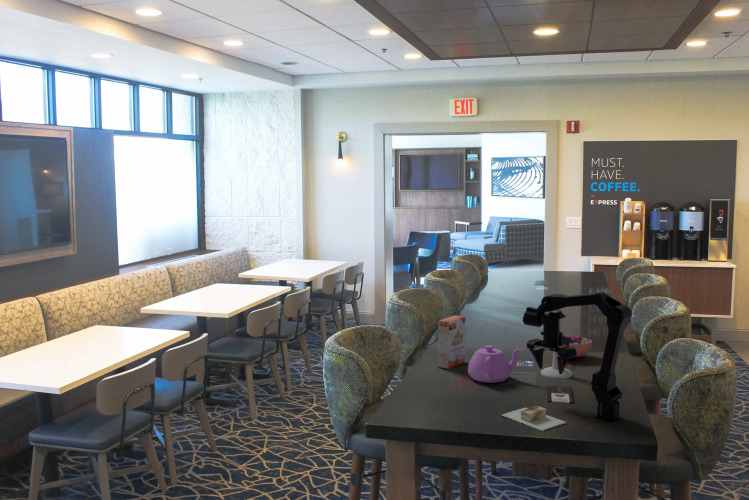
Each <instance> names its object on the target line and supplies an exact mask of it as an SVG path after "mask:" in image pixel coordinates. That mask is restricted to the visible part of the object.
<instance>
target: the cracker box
mask: <svg viewBox="0 0 749 500" xmlns="http://www.w3.org/2000/svg"><path fill="white" fill-rule="evenodd" d="M437 337H438V341H437V342H438V344H437V346H438V347H437V349H438V351H437V352H438V353H437V357H438V358H437V359H438V360H437V366H438V368H442V369H447V370H450V369H452V368H454V367H457V366H459V365H461V364H464V363H465V362H466V361H465V359H466V358H465V357H466V356H465V355H466V354H465V353H466V350H465V349H466V316H463V315H456V314H455V315H452V316H449V317H446V318H442V319H440V320H438V335H437Z"/></svg>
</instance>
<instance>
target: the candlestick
mask: <svg viewBox="0 0 749 500" xmlns="http://www.w3.org/2000/svg"><path fill="white" fill-rule="evenodd" d="M559 311H561V309H558V310H554V312H555V313H557V312H559ZM561 322H563V320H562V319H560V326H561V325H562V323H561ZM559 347H560V346H559ZM560 348H561V347H560ZM557 357H559V356H558V354H557V352H554V351H552V366H548V367H545V368H542V369H541V371H540V375H542V376H543V377H545V378H548V379H556V380H557V379H558V380H561V379H563V380H564V379H570V378H572V377H573V372H572V371H571V370H570V369H569V368H566V367H565V368H564V371H563V373H562V374H561V375H560V374H559V370H558V362H557Z"/></svg>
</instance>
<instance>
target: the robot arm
mask: <svg viewBox="0 0 749 500" xmlns="http://www.w3.org/2000/svg"><path fill="white" fill-rule="evenodd" d="M591 305H593V306H594V305H595V306H596V307H597V308H598V309H599V311H600V312H601V313H602V314H603V315H604V316H605V317H606V325H607V326H606V327H607V330H608V333H607V337H606V342H605V346H604V349H603V355H602V360H601V364H600V369H599V370H598V371H596V372H594V373H592V378H591V382H590V383H589V384H590V385H591V391H592V392H593V394H594V396H595V401H596V402H597V407H596V408H597V409H596V415H595V416H594V417H595V418H597V419H600V420H603V421H605V422H610V423H613V422H615V421H618V420H621V419H622V418H623V416H622V415H621V416H620V404H621V403H620V401H619V400H621V399H622V397H623V394H624V393H623V392H622V391H621V390H620V389H619V387H618V386H617V376H616V372H615V370H616V367H617V361H618V357H619V353H620V348H621V343H622V339H623V335H624V332H625V330H626V328H627V327H628V326H629V324H630V321H631V320H632V319H631V318H632V317H633V311H632V310H631V308H630V307H629V306H628V305H626V304H623V303H622V302H621V301H619V300H617V299H615V298H613V297H611V296H610V295H609V294H607V293H605V292H604V291H598V292H593V293H583V294H574V295H573V294H572V295H568V294H563V293H562V294H561V293H553V294H549V295H545V296H543V297H542V299H541V301H540V304H539V306H538V307H537V308H536V307H532V306H528V307H526V308H525V309H526V311H524V313H523V316H522V321H523V324H524V325H526V326H530V327H536V328H541V327H543V328H542V329H543V331H540V335H541V336H542V339H540V338H533V339H529V340H527V342H526V349H528V351H529V352H531V354H532V356H533V358H534V359H535V361H536V364H537V366H538V369H540V370H542V369H543V364H544V361H543V360H544V352H545V350H547V351H551V352H553V351H554V352H557V354H558V356H559V357H557V362H558V370H559V374H560V375H561V374H562V373H563V371H564V368H566V366H567V363H568V362H569V360H570V359H574V358H573V357H574V356H577V350H576V349H575V348H572V347H569V344H570V340H571V338H568V337H564V336H562V333H563V332H562V331H561V327H560V326H561V325H560V320H562V319H565V318H566V316H567V315H565V314H564V313H563V312H562V311H561V309H565V308H570V307H580V306H582V307H583V306H591ZM558 309H560V311H559V312H557V313H555V310H558ZM563 345H566V347H562V348H560V347H559V346H563Z"/></svg>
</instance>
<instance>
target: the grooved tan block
mask: <svg viewBox="0 0 749 500" xmlns="http://www.w3.org/2000/svg"><path fill="white" fill-rule="evenodd" d="M527 408H528V409H525V410H522V411H521V419H522V420H524V421H527V422H533V421H536V420H539V419H542V418H546V415H547V408H545V407H541V406H539V405H535V406H532V407H527Z"/></svg>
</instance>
